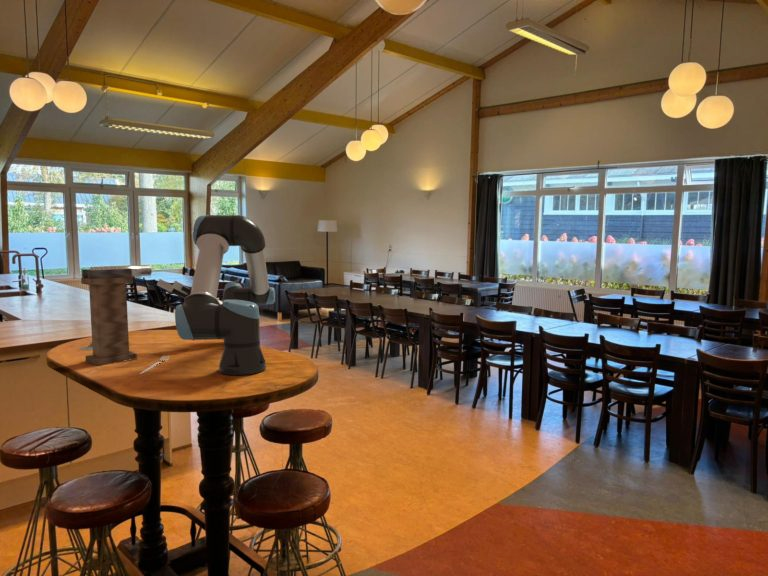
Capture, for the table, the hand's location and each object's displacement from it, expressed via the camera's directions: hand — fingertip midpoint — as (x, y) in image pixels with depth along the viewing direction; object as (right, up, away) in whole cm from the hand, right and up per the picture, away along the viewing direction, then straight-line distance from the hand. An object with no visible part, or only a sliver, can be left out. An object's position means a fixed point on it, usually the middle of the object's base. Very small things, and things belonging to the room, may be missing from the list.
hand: (165, 282), depth 204 cm
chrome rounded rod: (-11, +2, -12) cm, 16 cm away
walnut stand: (-15, -28, -13) cm, 34 cm away
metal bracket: (-29, -27, +10) cm, 40 cm away
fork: (+5, -30, -22) cm, 37 cm away
